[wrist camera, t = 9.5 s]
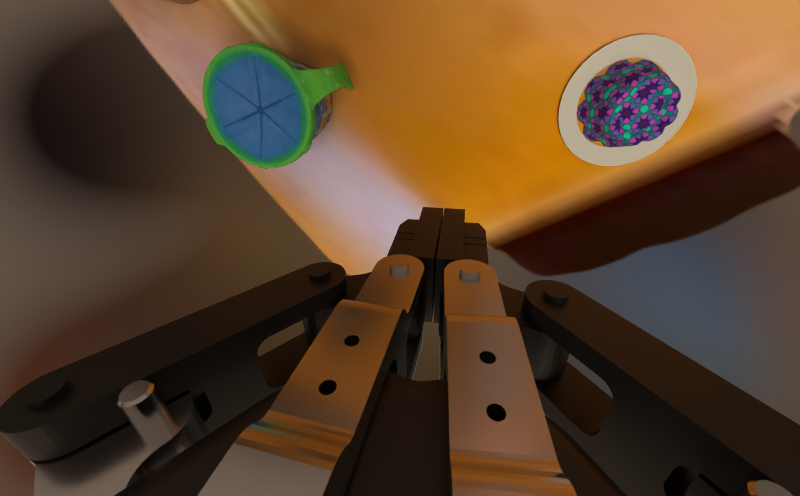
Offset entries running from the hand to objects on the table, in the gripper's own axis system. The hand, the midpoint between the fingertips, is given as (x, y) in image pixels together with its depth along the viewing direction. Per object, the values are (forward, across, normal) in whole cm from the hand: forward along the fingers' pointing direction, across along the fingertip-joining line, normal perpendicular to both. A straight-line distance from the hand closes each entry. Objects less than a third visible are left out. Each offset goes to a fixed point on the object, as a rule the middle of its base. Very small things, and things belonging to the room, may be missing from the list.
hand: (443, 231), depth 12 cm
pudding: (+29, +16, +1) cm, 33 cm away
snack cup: (+29, -18, +1) cm, 34 cm away
